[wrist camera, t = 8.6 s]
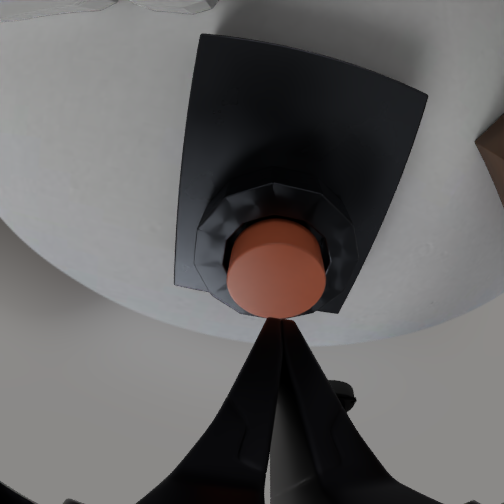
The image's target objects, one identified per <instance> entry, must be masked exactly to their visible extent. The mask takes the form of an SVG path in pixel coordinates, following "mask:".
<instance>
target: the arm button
mask: <svg viewBox="0 0 504 504" xmlns="http://www.w3.org/2000/svg"><path fill="white" fill-rule="evenodd" d="M325 285H326V274H325V269H324V264H323V259H322V255H321V250H320V246H319V243H318V241H317V239H316V237H315V236H314V235H313V233H312V232H311V231H310V230H308V229H307V228H306V227H304V226H303V225H301V224H299V223H297V222H294V221H291V220H288V219H281V218H272V219H265V220H261V221H258V222H256V223H254V224H252V225H250V226H249V227H247V228H246V229H244V230H243V231H242V232H241V233H240V234H239V236H238V237H237V239H236V240H235V242H234V244H233V248H232V252H231V257H230V263H229V268H228V273H227V287H228V291H229V293H230V295H231V297H232V298H233V300H234V301H235V302H236V303H237V304H238V305H239V306H240V307H241V308H243V309H244V310H245V311H247V312H249V313H251V314H254V315H256V316H260V317H264V318H268V317H274V318H279V319H280V318H288V317H293V316H296V315H299V314H301V313H303V312H305V311H307V310H308V309H310V308H311V307H312V306H314V305H315V304H316V303H317V302H318V300H319V299H320V298H321V296H322V294H323V292H324V289H325Z"/></svg>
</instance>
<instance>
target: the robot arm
mask: <svg viewBox="0 0 504 504" xmlns="http://www.w3.org/2000/svg"><path fill="white" fill-rule="evenodd" d="M356 401H357V400H356V397H341V396H337V395H336V394H335V392H334V390H333V388H332V387H331V385H330V383H329V381H328V380H327V378H326V376H325V374H324V373H323V371H322V369H321V367H320V365H319V364H318V362H317V360H316V359H315V357H314V355H313V354H312V351H311V350H310V348H309V346H308V344H307V343H306V341H305V339H304V337H303V336H302V334H301V332H300V330H299V329H298V327H297V325H296V323H295V322H294V321H293V320H287V319H281V320H280V319H279V318H274V317H268V318H267V319H266V321H265V323H264V325H263V328H262V330H261V332H260V334H259V336H258V338H257V340H256V342H255V344H254V346H253V348H252V350H251V351H250V353H249V355H248V358H247V359H246V362H245V363H244V365H243V367H242V369H241V371H240V373H239V375H238V377H237V379H236V381H235V383H234V385H233V386H232V388H231V390H230V392H229V394H228V396H227V398H226V399H225V401H224V403H223V405H222V407H221V409H220V410H219V412H218V414H217V415H216V417H215V419H214V420H213V422H212V423H211V425H210V426H209V427H208V429H207V430H206V431H205V433H204V434H203V435H202V437H201V438H200V439H199V440H198V442H197V443H196V444H195V445H194V447H193V448H192V449H191V450H190V452H189V453H188V454H187V455H186V456H185V458H184V459H183V460H182V461H181V462H180V464H179V465H178V466H177V467H176V468H175V469H174V471H173V472H172V473H171V474H170V475H169V476H168V477H167V478H166V479H164V480H163V481H162V482H161V483H160V484H159V485H158V486H157V487H155V488H154V489H153V490H152V491H151V492H150V493H148V494H147V495H146V496H145V497H143V498H142V499H141V500H140V501H138V502H137V503H136V504H265V501H264V486H265V478H266V474H265V473H266V472H267V466H268V460H269V454H270V497H271V499H270V504H443V503H440V502H438V501H436V500H434V499H431V498H429V497H427V496H425V495H423V494H421V493H419V492H417V491H415V490H412V489H411V488H409V487H407V486H405V485H403V484H401V483H399V482H398V481H396V480H395V479H394V478H392V476H391V475H390V474H389V473H388V472H387V471H386V470H385V468H384V467H383V466H382V464H381V463H380V462H379V460H378V459H377V458H376V456H375V455H374V454H373V452H372V451H371V450H370V448H369V447H368V446H367V444H366V443H365V441H364V440H363V438H362V437H361V436H360V434H359V433H358V431H357V430H356V428H355V426H354V425H353V423H352V421H351V420H350V418H349V417H348V415H347V411H348V410H349V409H350V408H351V407H352V406H353V405H354V404H355V403H356ZM0 504H37V503H35V502H34V501H32V500H30V499H28V498H26V497H25V496H23V495H21V494H20V493H18V492H17V491H15V490H13V489H12V488H10V487H9V486H7V485H5V484H4V483H2V482H1V481H0ZM63 504H84V503H81V502H78V501H75V500H72V499H66V500H65V502H64V503H63ZM465 504H480V503H478V502H476V501H475V500H473V501H470V502H467V503H465ZM502 504H504V503H502Z"/></svg>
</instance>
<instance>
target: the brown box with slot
mask: <svg viewBox="0 0 504 504" xmlns="http://www.w3.org/2000/svg"><path fill="white" fill-rule="evenodd" d="M475 144H476V146H477V148H478V150H479V152H480V154H481V156H482V158H483V160H484V162H485V164H486V166H487V169H488V171H489V173H490V175H491V177H492V180H493V182H494V184H495V187H496V189H497V192H498V194H499V197H500V199H501V202H502V205H503V207H504V114H503V115H502V116H501V117H500V118H499V119H498V120H497V121H496V122H495V123H493V124H492V125H491V126H490V127H489V128H488V129H487V130H486V131H485V132H484V133H483V134H482V135H481V136H480V137H479V138H478V139H477V140H476V141H475Z"/></svg>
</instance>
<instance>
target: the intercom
mask: <svg viewBox="0 0 504 504" xmlns="http://www.w3.org/2000/svg"><path fill="white" fill-rule="evenodd" d="M117 1H118V0H0V22H7V21H20V20H24V19H30V18H35V17H41V16H47V15H54V14H62V13H71V12H83V11H99V10H103V9H105V8H107V7H109V6H111V5H113V4H115V3H117ZM129 1H131V2H132V3H134V4H136V5H139V6H142V7H145V8H148V9H151V10H154V11H165V12H176V13H186V14H196V13H199V12H203V11H206V10H210V9H212V8H213V7H214V6H215V4H216V3H217V2H218V1H219V0H129Z"/></svg>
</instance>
